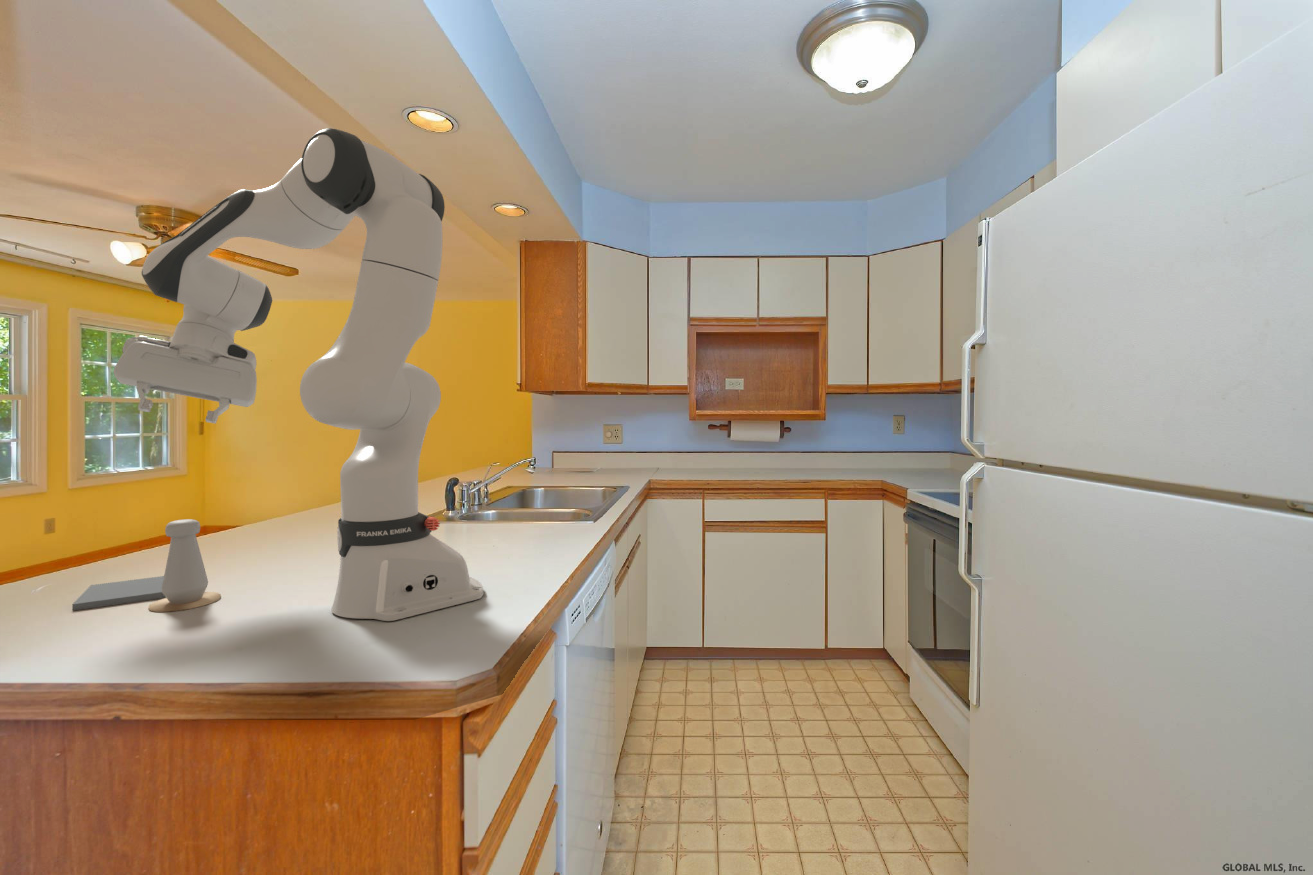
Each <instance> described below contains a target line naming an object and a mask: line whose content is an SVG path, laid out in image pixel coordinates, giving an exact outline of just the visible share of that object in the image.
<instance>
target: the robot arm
mask: <svg viewBox="0 0 1313 875" xmlns="http://www.w3.org/2000/svg"><path fill="white" fill-rule="evenodd" d="M443 196H444V195H443V194H442V192H441V190H440V189H439V188H438V186H436V184H434V182H433V181H432V180H430V179H429V178H428V177H427V176H425V175H423V174H421V173H418V172H416V170H414V169H413V168H411V167H410V166H409V165H407V164H405V163H404V162H402V161H400V160H399V159H397V157H395V155H393V154H391V153H389V152H388V151H386V150H384V149H382V148H380V147H377V146H376V145H373V144H371V143H370V142H366V141H363V140H361V139H360V138H359V137H358V136H357V135H355V134H353V133H350V132H347V131H345V130H344V131H343V130H340V129H336V128H331V127H329V128H324V129H321V130H319V131H318V132H316V133H315V134H314V135H313V136H311V137H310V139H309V140H308V141H307V143H306V145H305V146H304V149H303V152H302V155H301V157H300V159H299V160H297V162H295V164H294V165H293V166H292V167H290V169H289V170H288V171H287V172H286V173H285V174H284V175H283V177H282V178H281V179H280V180H279V181H278V182H276V183H275V184H273V185H271V186H269V187H265V188H262V189H256V190H254V189H244V188H243V189H239V190H237V191H235V192H234V193H231V194H230V195H229V196H227V197H226V198H224V199H222V200H221V201H219V202H218V203H217V204H216V205H214V206H213V207H211V208H210V209H209V210H208V211H206V212H205V213H203V215H201V216H199V217H198V218H197V219H196V220H194V221H193V222H192V223H191V224H189V225H188V226H187V227H186V228H184V229H183V230H182V231H180V232H179V233H178V234H176V235H175V236H172V237H171V238H169V239H167V240H165V241H163V242H161V244H158V246H157V247H155V248H154V249H153V250H151V252H149V254H148V255H147V256H146V259H145V260H144V263H143V265H142V269H141V276H142V279H143V280H144V281H145V283H146V285H147V287H148V288H149V289H150V291H151V292H152V293H153V294H154V296H157V297H160V298H161V299H162V298H163V299H166V300H169V301H171V302H175V303H179V304H180V305H181V304H182V305H183V315H182V318H181V320H179V322H178V323H177V324H176V327H175V329H174V332H173V335H172V337H171V340H170V341H167V340H163V339H158V338H156V339H155V338H151V337H149V336H144V335H139V336H134V337H133V336H132V337H130V338H127V339H126V340H125V342H124V344H123V347H122V349H121V350H122V354H121V356H120V358H118V360H117V363H116V364H115V366H114V369H113V375H114V377H115V378H116V380H117V381H118V382H119V383H120V384H122V385H126V386H131V387H135V388H136V391H137V394H138V396H139V398H140V400H139V403H138V405H137V409H138V411H139V412H146V413H151V411H152V408H153V406H154V403H153V400H151V399H147V398H146V395H148V394H149V393H150V390H152V391H153V390H154V391H158V392H164V393H169V394H175V395H180V396H184V397H185V396H186V397H190V398H196V399H200V400H201V399H202V400H207V401H212V402H218V404H219V406H218V407H217V408H216V409H215V410H207V413H206V417H205V422H206V423H210V424H211V423H212V424H217V421H218V419H219V416H221V415H223V413H224V412H226V411H227V410H229V408H230V405H233V406H239V407H244V408H248V407H250V406H252V405H254V403H255V400H256V395H257V384H258V382H257V379H258V378H257V371H256V368H257V358H256V357H257V356H256V354H255V353H254V352H253V351H251V350H249V349H248V348H245V347H243V346H241V345H239V344H237V343H235V333H236V332H237V331H239V332H243V331H247V330H248V331H249V330H251V329H254V328H257V327H260V326H262V325H263V324H265V322H266V320H267V319H268V315H269V314H270V311H271V307H272V304H273V297H272V293H271V291H270V289H269V286H268V285H267V284H266V283H264V282H263V281H260V280H259V279H257V278H256V277H253V276H251V275H249V274H247V273H245V272H243V271H241V270H239V269H236V268H234V267H232V266H230V265H228V264H226V263H224V262H221V261H219V260H217V259H215V258H214V257H212V256H209V255H210V254H212V253H213V252H214V251H215V250H216V249H218V248H220V247H221V246H222V245H223V244H224V243H225V242H227V241H229V240H231V239H234V238H251V239H257V240H263V241H268V242H270V243H271V242H273V243H276V244H279V245H283V246H285V247H289V248H293V249H299V250H300V249H301V250H312V249H313V250H314V249H320V248H322V247H325V246H327V245H328V244H330V243H331V242H333V241H334V240H335V239H336V238H337V237H338V236H339V235H340V234H341V233H342V232H343V231H344V229H346V227H347V226H349V224H350V223H351V222H352V221H353V219H354V218H355V217H357V218H359V219H361V220H362V221H363V224H364V225H365V227H366V237H365V238H366V239H365V244H364V247H363V252H362V255H361V256H362V257H361V262H360V268H359V273H358V277H357V281H356V282H357V283H356V289H355V292H354V296H353V302H352V306H351V308H350V312H349V315H348V318H347V319H346V322H345V324H344V326H343V327H342V329H341V332H340V333H339V335H338V337H337V339H336V340H335V341H334V343H333V344H332V346H331V347H330V348H329V350H328V351H327V352H326V353H325V354H324V355H322V356H321V357H320V358H318V359H317V360H316V361H314V362H312V363H311V364H310V365H309V366H308V367H307V369H306V370H305V371H304V373H303V375H302V377H301V380H300V385H299V396H300V401H301V403H302V406H303V407H304V410H305V411H306V412H307V413H308V415H309V416H310V417H312V418H313V419H314V420H315V421H317V422H319V423H322V424H325V425H327V426H332V427H334V428H340V429H343V430H344V429H345V430H353V431H354V430H359V435H358V438H357V441H356V444H355V447H354V449H353V451H352V453H351V454H350V456H349V457H348V458H347V459H346V461H344V463H343V464H342V466H341V469H340V472H339V474H340V479H339V480H340V481H339V482H340V514H341V517H340V518H339V519H338V522H337V525H338V527H337V530H336V532H337V551H338V553H339V555H340V560H339V563H340V564H339V571H338V572H339V574H338V579H337V586H336V592H335V596H334V599H333V603H332V606H331V612H332V613H333V614H334V615H335V616H339V617H342V618H346V619H347V618H348V619H365V620H366V619H371V620H372V619H374V620H379V621H384V622H391V621H392V622H393V621H397V620H402V619H405V618H409V617H413V616H417V615H421V614H426V613H429V612H434V611H437V610H440V609H446V608H448V607H453V606H455V605H456V606H457V605H460V604H465V603H469V602H472V601H476V600H480V599H481V598H482V597H483V596H484V587H483V585H482V583H481V582H479V580H477V579H475V578H474V577H471V576H470V573H469V569H468V565H467V563H466V560H465V557H464V556H463V555H462V554H461V553H460V552H459V551H457V550H456V549H454V548H453V547H451V546H450V545H448V544H446V543H445V542H443V541H442V540H440V539H438V538H437V537H436V536H434V535H433V534H431V533H432V531H433V532H434V531H436V530H438V529H439V527H440V525H441V523H440V520H438V518H437V517H434V516H428V515H426V514H424V513H421V512H419V464H420V458H421V453H422V448H423V445H424V444H423V443H424V441H425V440H424V439H425V436H426V432H427V430H428V426H429V423H430V421H431V419H432V418H433V416H434V415H435V414H436V413H437V411H438V410H439V407H440V403H441V399H442V394H441V389H440V388H441V387H440V386H439V382H438V381H437V380H436V378H435V376H433V375H432V374H430V373H429V372H427V371H425V370H424V369H423V368H420V367H419V366H416V365H414V364H412V363H409V362H406V360H407V358H408V357H409V355H410V352H411V350H412V348H413V347H414V345H415V344H416V342H417V341H418V340H419V339H420V338H421V337H423V336H424V335H425V334H426V333H427V332H428V330H429V329H430V326H431V322H432V321H431V320H432V315H433V310H434V306H435V301H436V296H437V290H438V284H439V279H440V273H441V266H442V258H443V224H442V221H443V218H444V215H445V200H444V197H443Z"/></svg>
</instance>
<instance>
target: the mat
mask: <svg viewBox="0 0 1313 875" xmlns="http://www.w3.org/2000/svg"><path fill="white" fill-rule="evenodd" d="M163 579H164V575H160V576H155V577H147V578H146V577H145V578H138V579H137V578H136V579H130V580H129V579H128V580H122V581H121V580H120V581H111V582H107V583H105V582H104V583H98V584H97V583H96V584H90V586H88V588H86V590H85V591H84V592H83V593H81V595H80V596H79V597H78V598H77V599H76V600H75V601H74V602H73V603H72V607H71V608H72V611H80V610H87V609H88V610H89V609H95V608H100V607H107V606H109V607H110V606H116V605H122V604H129V603H137V602H138V603H139V602H144V601H151V600H157V599H159V600H160V599H164V598H166V597H165V596H164V594H163V593H162V590H161V588H162V584H163Z"/></svg>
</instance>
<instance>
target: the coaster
mask: <svg viewBox="0 0 1313 875" xmlns="http://www.w3.org/2000/svg"><path fill="white" fill-rule="evenodd" d="M221 598H222V595H221V593H219V592H216V591H205V592H204V594H203V597H202V598H201V599H199V600H198V601H195V602H190V603H186V604H170V602H169V601H168V599H167V598H160V599H159V600H155V601H154V602H151V603H150V604H149V605H148V610H149V611H150V612H155V613H156V612H157V613H168V612H169V613H172V612H180V611H185V610H191V609H192V610H193V609H197V608H201V607H205V606H209V605H210V604H213V603H215V602H218V601H219V600H220V599H221Z"/></svg>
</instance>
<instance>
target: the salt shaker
mask: <svg viewBox="0 0 1313 875" xmlns="http://www.w3.org/2000/svg"><path fill="white" fill-rule="evenodd" d="M200 531H201V524H200V521H198V520H196V519H192V518H191V519H190V518H187V519H185V518H184V519H178V520H176V519H175V520H173V521H172V520H171V521H170V522H168V523H167V524H166V525H165V536H166V537H169V538H170V543H169V550H168V555H167V559H166V565H165V568H164V569H165V570H164V575H163V576H164V579H163V584H162V588H161V590H162V593H163V594H164V596H165V597H166V598H167V599H168V601H169V602H170V604H186V603H190V602H195V601H198V600H199V599H201V598H202V597H203V594H204V592H206V590H207V588H208V585H209V580H208V579H209V578H208V575H207V572H206V569H205V568H206V567H205V565H204V562H203V558H202V554H201V549H200V546H199V542H198V539H197V535H198V534H199V533H200Z"/></svg>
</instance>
